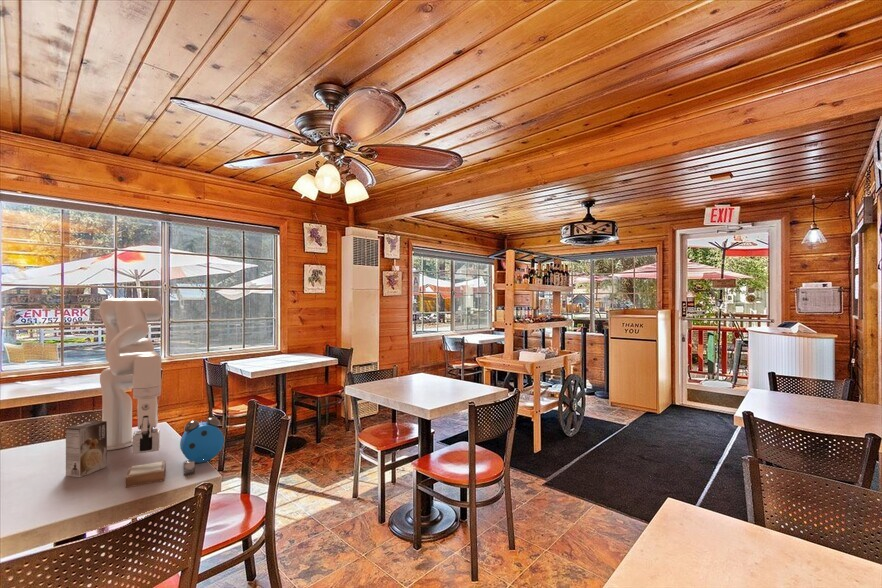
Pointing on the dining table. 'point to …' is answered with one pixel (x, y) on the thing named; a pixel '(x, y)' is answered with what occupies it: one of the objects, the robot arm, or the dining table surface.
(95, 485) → the dining table surface
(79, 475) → the coffee box
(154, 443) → the housing
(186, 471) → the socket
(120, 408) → the robot arm
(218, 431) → the alarm clock
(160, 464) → the picture frame
